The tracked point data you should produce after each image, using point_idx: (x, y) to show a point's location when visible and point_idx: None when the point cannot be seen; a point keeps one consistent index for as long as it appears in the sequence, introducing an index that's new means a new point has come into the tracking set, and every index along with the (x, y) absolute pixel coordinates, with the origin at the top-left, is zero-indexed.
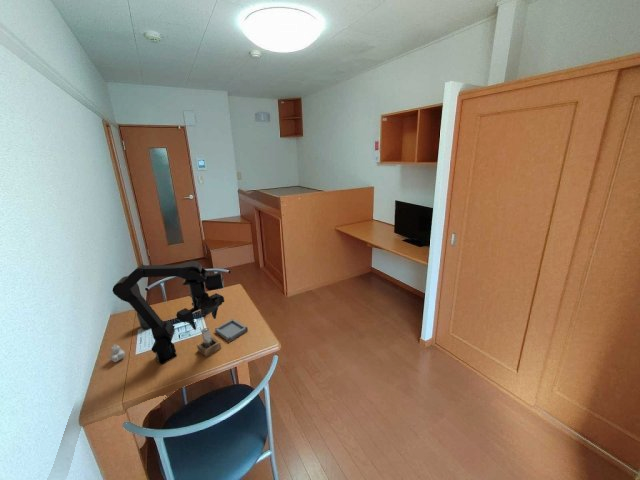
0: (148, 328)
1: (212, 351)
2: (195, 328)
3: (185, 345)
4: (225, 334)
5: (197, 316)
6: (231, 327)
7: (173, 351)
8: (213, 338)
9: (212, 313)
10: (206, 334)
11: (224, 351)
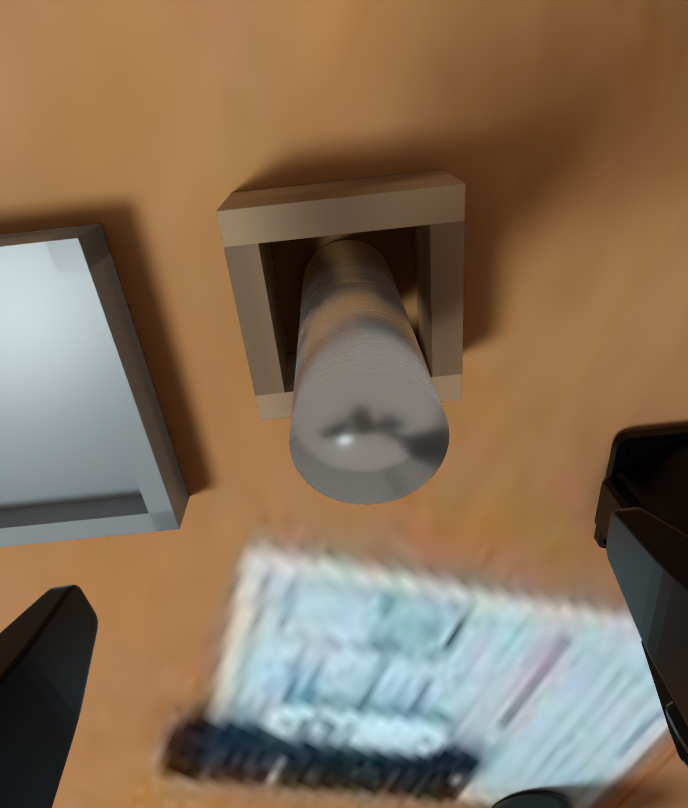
0: (549, 795)
1: (354, 182)
2: (654, 533)
3: (484, 511)
4: (97, 353)
5: (246, 742)
6: (4, 445)
7: (640, 486)
8: (258, 366)
9: (37, 777)
10: (387, 347)
11: (219, 81)
